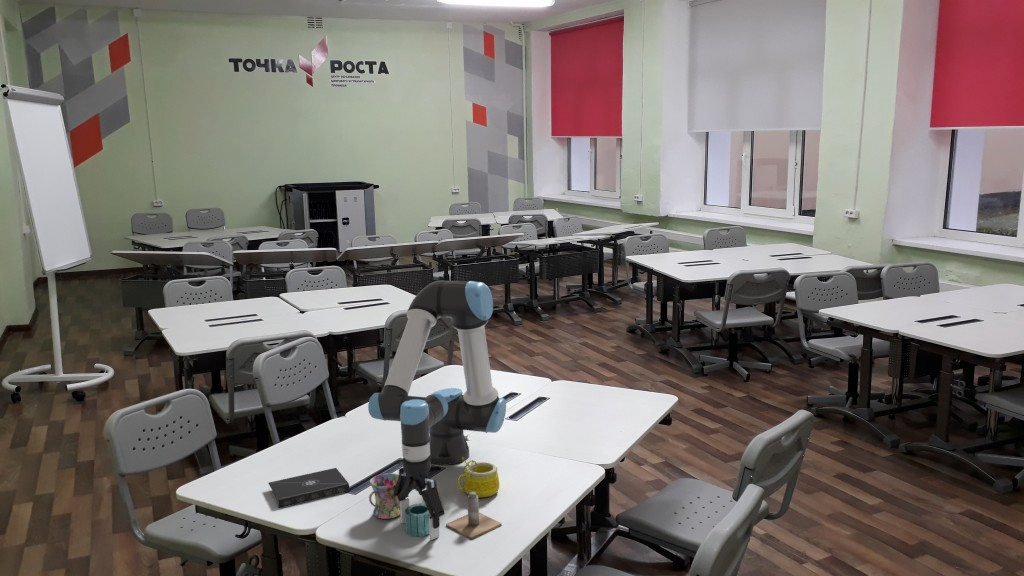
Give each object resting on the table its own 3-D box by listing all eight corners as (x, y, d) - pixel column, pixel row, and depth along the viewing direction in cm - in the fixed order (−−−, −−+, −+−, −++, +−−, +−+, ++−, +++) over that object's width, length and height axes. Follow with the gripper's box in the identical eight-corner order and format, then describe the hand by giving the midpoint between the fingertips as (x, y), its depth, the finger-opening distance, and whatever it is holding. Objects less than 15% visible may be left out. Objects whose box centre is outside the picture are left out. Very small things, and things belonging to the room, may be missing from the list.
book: (279, 510, 227) (278, 500, 227) (268, 491, 240) (268, 482, 240) (350, 493, 238) (349, 484, 237) (336, 476, 250) (336, 467, 250)
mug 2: (496, 482, 241) (495, 446, 239) (502, 498, 231) (501, 460, 228) (456, 486, 239) (454, 450, 237) (460, 502, 229) (458, 464, 226)
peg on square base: (446, 525, 214) (444, 493, 212) (475, 512, 222) (474, 481, 220) (471, 539, 206) (470, 506, 205) (501, 525, 214) (500, 493, 212)
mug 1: (386, 504, 228) (384, 470, 226) (410, 511, 224) (408, 476, 222) (358, 521, 218) (356, 486, 216) (383, 528, 214) (381, 493, 212)
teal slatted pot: (400, 530, 212) (399, 510, 211) (422, 520, 218) (421, 501, 216) (417, 539, 207) (416, 519, 206) (439, 529, 212) (438, 509, 211)
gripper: (379, 448, 215) (382, 519, 218) (433, 474, 197) (436, 550, 201) (401, 441, 220) (404, 510, 224) (455, 465, 202) (458, 540, 206)
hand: (419, 529), depth 212 cm, fingers open, 13 cm apart
